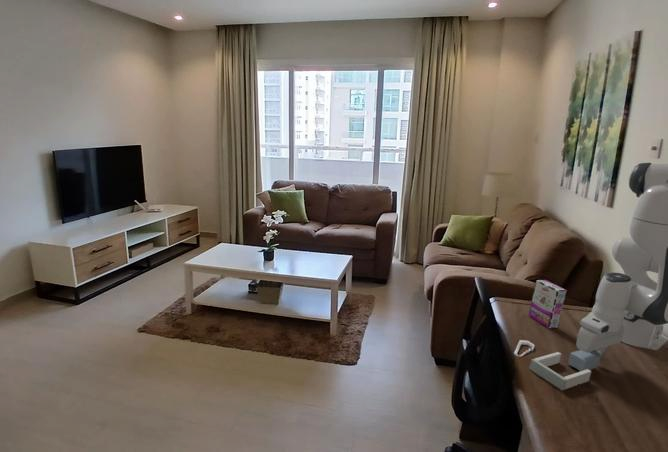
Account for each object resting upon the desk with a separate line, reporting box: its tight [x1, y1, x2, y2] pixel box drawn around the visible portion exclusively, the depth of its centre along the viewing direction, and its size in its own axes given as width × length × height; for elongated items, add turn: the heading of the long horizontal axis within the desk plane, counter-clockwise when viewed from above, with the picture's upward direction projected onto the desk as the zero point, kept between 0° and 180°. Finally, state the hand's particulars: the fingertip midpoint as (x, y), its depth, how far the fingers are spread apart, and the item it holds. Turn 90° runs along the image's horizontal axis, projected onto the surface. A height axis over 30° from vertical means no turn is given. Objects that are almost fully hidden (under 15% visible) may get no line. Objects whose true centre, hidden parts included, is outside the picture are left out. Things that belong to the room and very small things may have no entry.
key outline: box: [513, 339, 535, 358], centre depth 142 cm, size 13×5×2 cm, turn 145°
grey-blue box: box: [567, 349, 601, 372], centre depth 133 cm, size 8×5×6 cm, turn 116°
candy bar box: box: [528, 279, 568, 329], centre depth 162 cm, size 11×5×16 cm, turn 17°
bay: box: [529, 351, 592, 391], centre depth 128 cm, size 13×11×4 cm
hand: (595, 357), depth 136 cm, fingers closed
